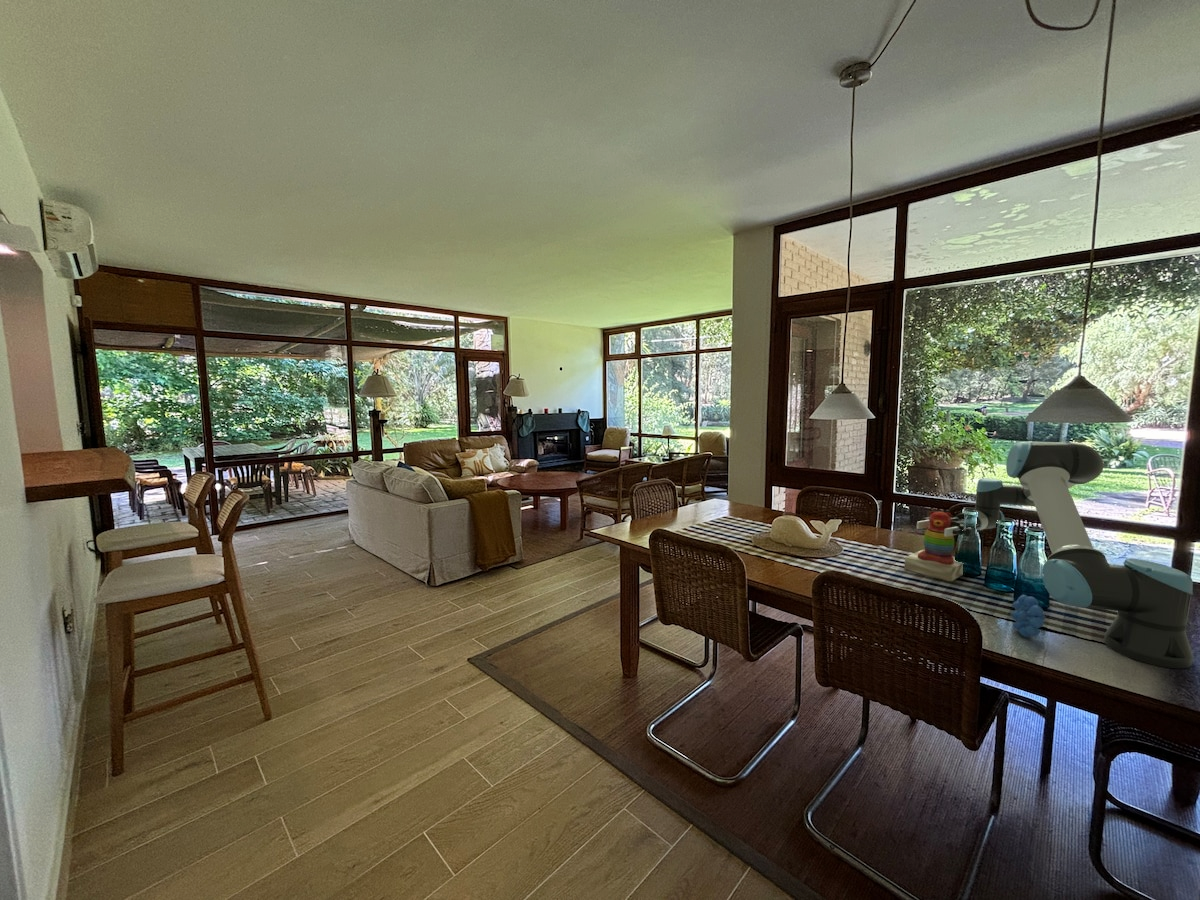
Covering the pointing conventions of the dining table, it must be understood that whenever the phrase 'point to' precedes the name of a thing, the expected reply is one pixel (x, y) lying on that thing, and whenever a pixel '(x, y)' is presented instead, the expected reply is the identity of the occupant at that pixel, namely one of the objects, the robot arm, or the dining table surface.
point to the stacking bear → (938, 539)
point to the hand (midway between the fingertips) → (931, 528)
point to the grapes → (1028, 616)
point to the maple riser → (934, 567)
